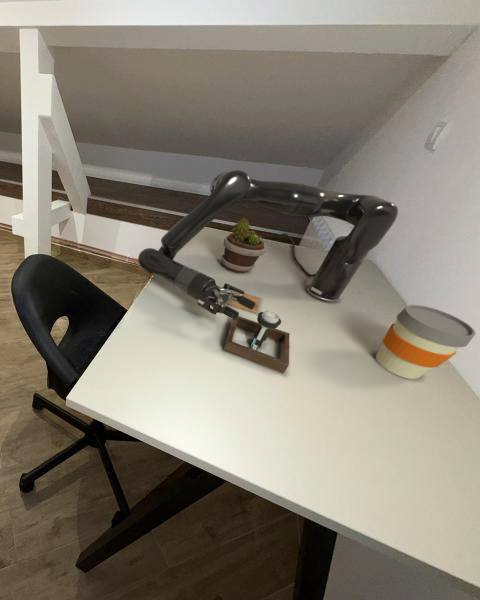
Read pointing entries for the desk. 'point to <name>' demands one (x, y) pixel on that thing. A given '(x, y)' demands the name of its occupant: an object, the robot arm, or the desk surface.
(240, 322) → the walnut frame
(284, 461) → the desk surface
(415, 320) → the reusable coffee cup
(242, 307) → the cork mat
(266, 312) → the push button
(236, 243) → the flowerpot
